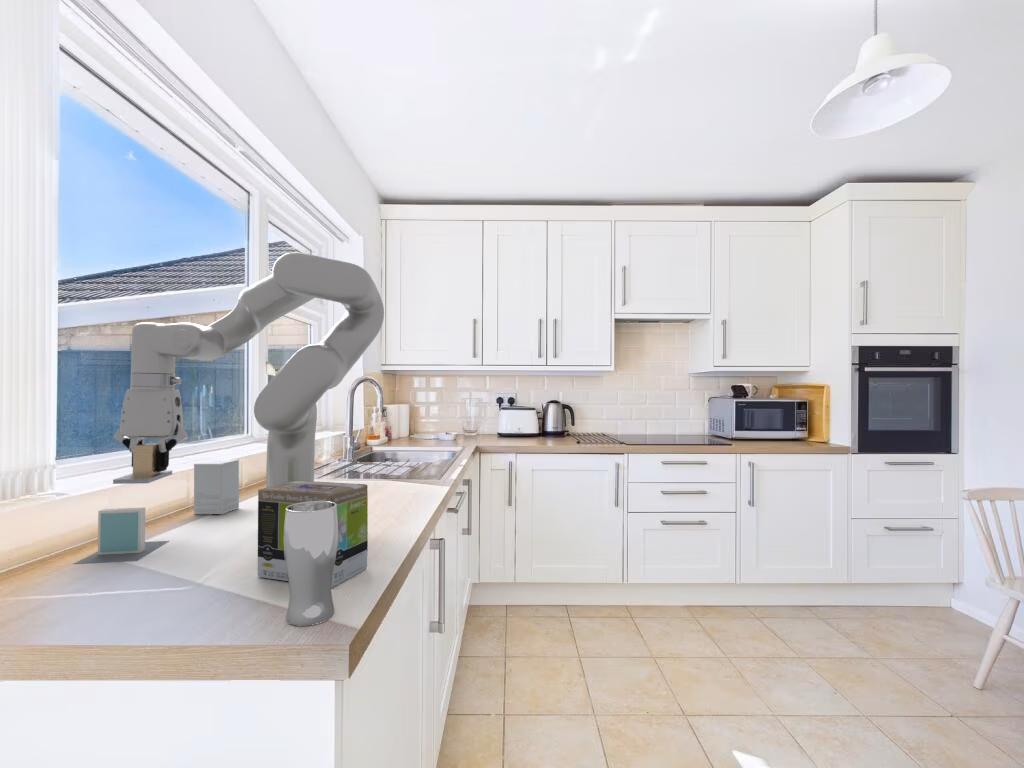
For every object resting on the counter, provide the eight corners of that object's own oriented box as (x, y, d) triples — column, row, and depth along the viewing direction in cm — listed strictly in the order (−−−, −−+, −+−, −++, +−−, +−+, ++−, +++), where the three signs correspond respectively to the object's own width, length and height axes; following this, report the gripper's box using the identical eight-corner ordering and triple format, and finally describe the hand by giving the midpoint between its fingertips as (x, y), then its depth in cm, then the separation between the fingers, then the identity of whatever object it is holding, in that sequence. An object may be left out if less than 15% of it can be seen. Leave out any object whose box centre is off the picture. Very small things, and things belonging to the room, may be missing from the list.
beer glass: (284, 632, 64) (285, 514, 64) (281, 611, 70) (282, 503, 71) (341, 621, 67) (342, 508, 68) (333, 601, 74) (334, 498, 74)
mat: (169, 542, 102) (169, 540, 102) (137, 562, 90) (137, 560, 90) (113, 544, 100) (113, 543, 100) (73, 565, 88) (73, 563, 88)
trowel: (147, 483, 99) (148, 448, 99) (113, 483, 98) (113, 448, 98) (172, 474, 108) (172, 442, 108) (140, 474, 107) (141, 442, 107)
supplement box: (239, 508, 131) (240, 459, 131) (220, 515, 124) (221, 463, 124) (213, 507, 132) (213, 459, 132) (192, 514, 124) (193, 463, 125)
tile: (103, 551, 95) (103, 509, 95) (144, 549, 96) (145, 507, 96) (97, 555, 93) (97, 511, 93) (139, 552, 94) (140, 509, 94)
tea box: (369, 569, 87) (370, 483, 88) (330, 590, 78) (331, 494, 78) (299, 559, 92) (299, 477, 92) (254, 578, 83) (255, 487, 83)
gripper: (203, 383, 111) (201, 468, 110) (118, 382, 108) (115, 468, 107) (188, 383, 103) (185, 473, 103) (96, 381, 100) (93, 474, 100)
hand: (150, 470), depth 105 cm, fingers closed on trowel, 3 cm apart
